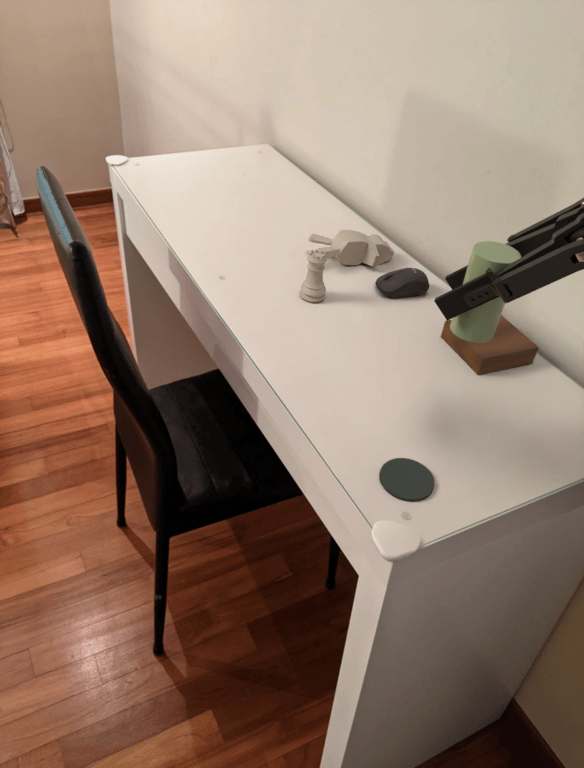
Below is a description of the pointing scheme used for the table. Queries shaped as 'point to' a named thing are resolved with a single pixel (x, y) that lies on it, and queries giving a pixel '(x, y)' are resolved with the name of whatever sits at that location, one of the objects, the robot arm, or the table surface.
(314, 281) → the rook chess piece
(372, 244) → the bunny figurine
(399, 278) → the computer mouse
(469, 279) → the green round cylinder
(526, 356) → the walnut platform
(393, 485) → the coaster
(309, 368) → the table surface
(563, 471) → the table surface
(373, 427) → the table surface
